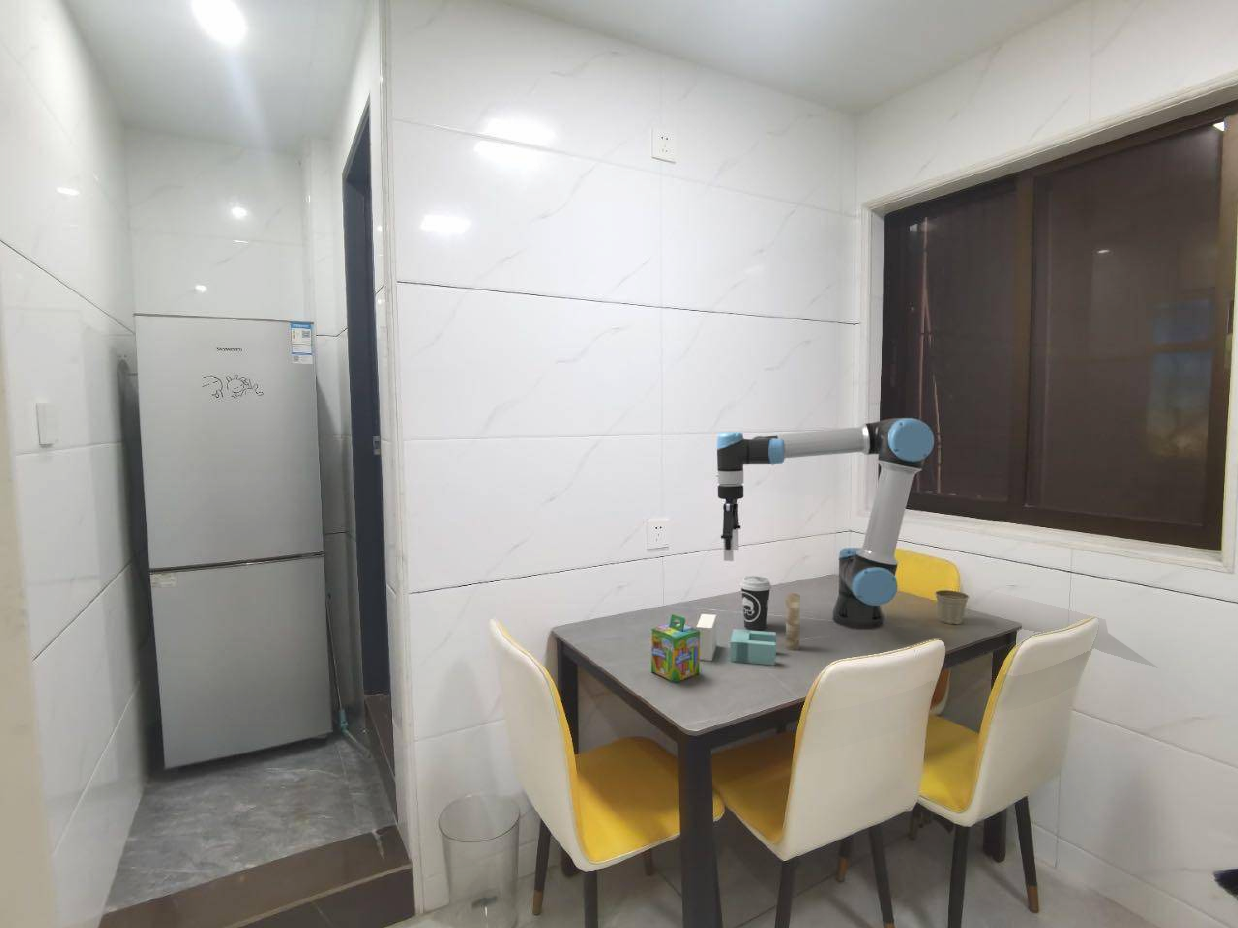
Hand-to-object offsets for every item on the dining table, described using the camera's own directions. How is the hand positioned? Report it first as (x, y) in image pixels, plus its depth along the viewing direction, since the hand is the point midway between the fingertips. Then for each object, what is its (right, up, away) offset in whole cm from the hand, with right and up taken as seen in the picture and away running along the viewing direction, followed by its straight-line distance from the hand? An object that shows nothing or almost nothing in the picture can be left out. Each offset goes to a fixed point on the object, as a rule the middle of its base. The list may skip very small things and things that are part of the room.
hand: (731, 555), depth 182 cm
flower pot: (+70, -22, +8) cm, 74 cm away
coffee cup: (+8, -23, +5) cm, 25 cm away
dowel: (+15, -24, -11) cm, 31 cm away
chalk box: (-19, -27, -26) cm, 42 cm away
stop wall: (-9, -25, -13) cm, 30 cm away
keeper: (+4, -25, -17) cm, 31 cm away
